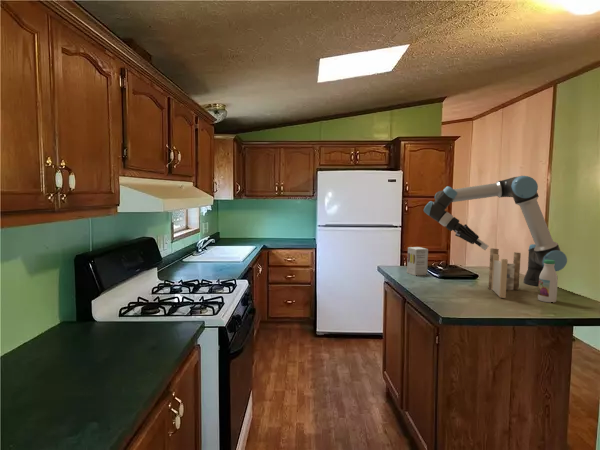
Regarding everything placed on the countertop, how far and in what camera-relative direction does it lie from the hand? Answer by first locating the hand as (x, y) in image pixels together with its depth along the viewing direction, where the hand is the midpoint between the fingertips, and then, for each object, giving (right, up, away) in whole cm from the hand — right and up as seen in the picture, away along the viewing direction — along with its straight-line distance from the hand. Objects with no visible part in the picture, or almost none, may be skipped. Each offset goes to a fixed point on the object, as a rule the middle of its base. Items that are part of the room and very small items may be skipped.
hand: (486, 248), depth 214 cm
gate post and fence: (+10, -23, +3) cm, 25 cm away
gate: (+3, -23, -9) cm, 25 cm away
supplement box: (-25, -19, +43) cm, 53 cm away
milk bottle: (+20, -25, -20) cm, 37 cm away
